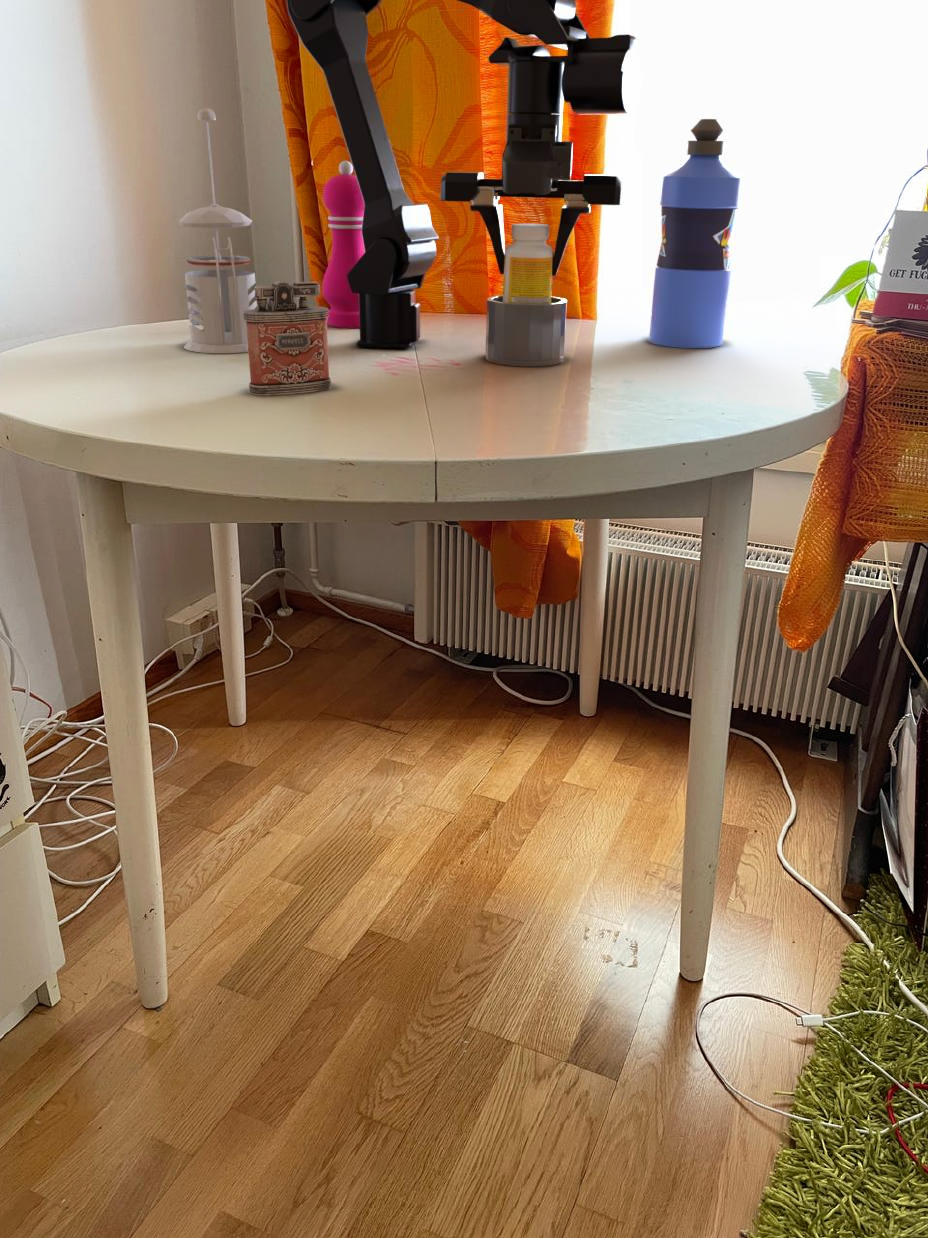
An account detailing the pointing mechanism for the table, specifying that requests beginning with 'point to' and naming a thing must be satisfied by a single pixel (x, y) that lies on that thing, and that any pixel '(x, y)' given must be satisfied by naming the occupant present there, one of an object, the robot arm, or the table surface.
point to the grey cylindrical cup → (525, 332)
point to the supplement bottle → (528, 266)
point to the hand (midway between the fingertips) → (527, 274)
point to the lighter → (287, 341)
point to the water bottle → (695, 245)
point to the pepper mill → (343, 246)
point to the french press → (218, 280)
